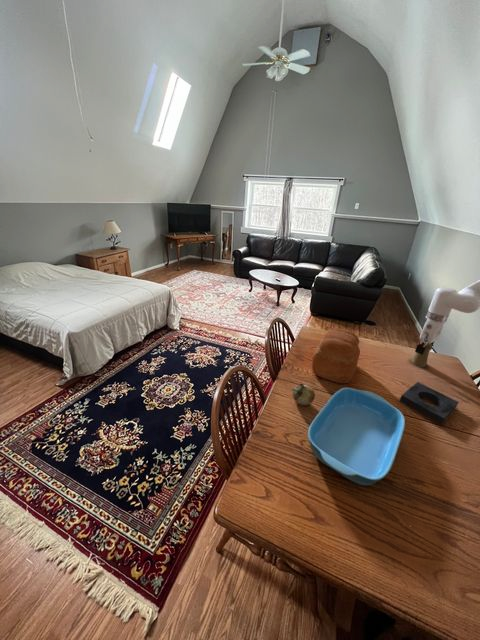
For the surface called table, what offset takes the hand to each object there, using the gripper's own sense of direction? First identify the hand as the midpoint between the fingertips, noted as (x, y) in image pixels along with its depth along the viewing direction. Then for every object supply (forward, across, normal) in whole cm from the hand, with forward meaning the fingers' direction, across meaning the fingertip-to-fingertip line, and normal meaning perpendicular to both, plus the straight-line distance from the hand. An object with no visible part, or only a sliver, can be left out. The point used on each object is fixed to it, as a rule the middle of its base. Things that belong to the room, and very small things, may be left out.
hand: (423, 349), depth 123 cm
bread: (+7, -38, +20) cm, 43 cm away
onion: (+7, -66, +14) cm, 68 cm away
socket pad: (+7, -28, -14) cm, 32 cm away
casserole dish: (+7, -66, -7) cm, 67 cm away
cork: (+7, 0, 0) cm, 7 cm away
